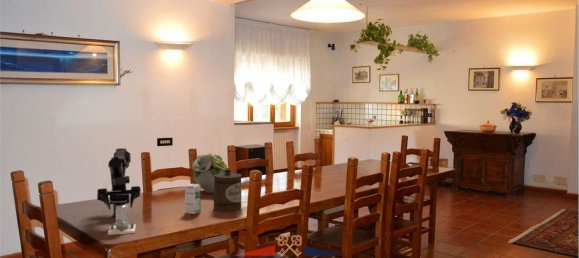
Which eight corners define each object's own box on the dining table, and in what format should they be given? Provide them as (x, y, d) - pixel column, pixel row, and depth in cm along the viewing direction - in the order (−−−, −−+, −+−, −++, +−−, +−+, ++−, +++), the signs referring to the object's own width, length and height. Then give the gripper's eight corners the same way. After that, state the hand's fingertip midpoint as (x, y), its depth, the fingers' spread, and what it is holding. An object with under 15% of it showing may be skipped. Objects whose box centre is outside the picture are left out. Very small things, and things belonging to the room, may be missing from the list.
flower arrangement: (184, 194, 292) (184, 154, 290) (203, 187, 315) (203, 150, 314) (221, 197, 284) (221, 156, 283) (237, 189, 308) (237, 152, 307)
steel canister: (116, 227, 211) (116, 205, 211) (128, 226, 213) (128, 204, 212) (115, 230, 206) (115, 207, 206) (128, 229, 208) (127, 207, 207)
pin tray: (110, 228, 213) (110, 221, 213) (135, 226, 216) (135, 220, 216) (107, 234, 203) (107, 227, 203) (134, 233, 206) (134, 226, 206)
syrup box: (194, 214, 241) (194, 186, 240) (184, 213, 243) (184, 185, 242) (200, 211, 246) (200, 184, 245) (191, 210, 248) (191, 183, 247)
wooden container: (232, 212, 246) (232, 170, 244) (208, 209, 252) (208, 168, 251) (246, 206, 259) (246, 167, 258) (223, 204, 265) (223, 165, 264)
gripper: (97, 171, 214) (99, 200, 205) (139, 169, 222) (143, 196, 213) (96, 185, 221) (98, 214, 212) (137, 182, 230) (141, 210, 221)
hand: (120, 208), depth 214 cm, fingers open, 9 cm apart
